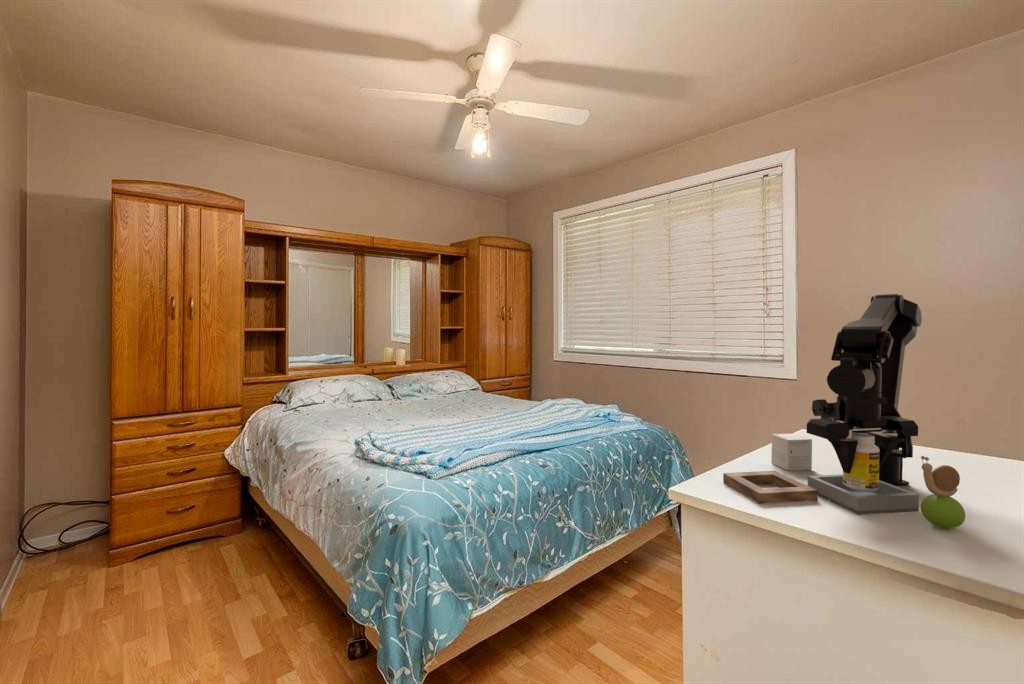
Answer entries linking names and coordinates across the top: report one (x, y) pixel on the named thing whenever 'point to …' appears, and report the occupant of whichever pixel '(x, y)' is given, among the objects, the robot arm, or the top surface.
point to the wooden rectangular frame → (786, 492)
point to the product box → (791, 451)
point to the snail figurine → (942, 496)
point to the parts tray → (864, 496)
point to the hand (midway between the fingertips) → (860, 471)
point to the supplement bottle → (864, 465)
